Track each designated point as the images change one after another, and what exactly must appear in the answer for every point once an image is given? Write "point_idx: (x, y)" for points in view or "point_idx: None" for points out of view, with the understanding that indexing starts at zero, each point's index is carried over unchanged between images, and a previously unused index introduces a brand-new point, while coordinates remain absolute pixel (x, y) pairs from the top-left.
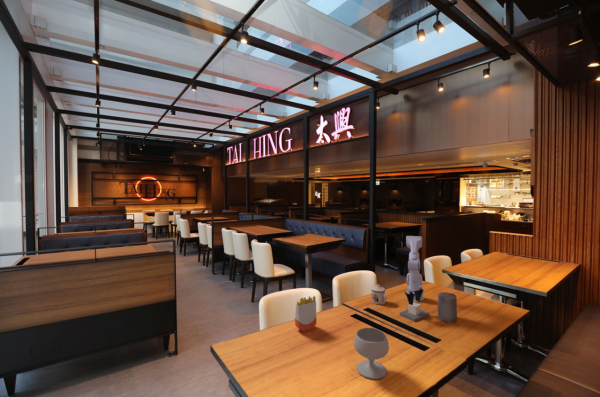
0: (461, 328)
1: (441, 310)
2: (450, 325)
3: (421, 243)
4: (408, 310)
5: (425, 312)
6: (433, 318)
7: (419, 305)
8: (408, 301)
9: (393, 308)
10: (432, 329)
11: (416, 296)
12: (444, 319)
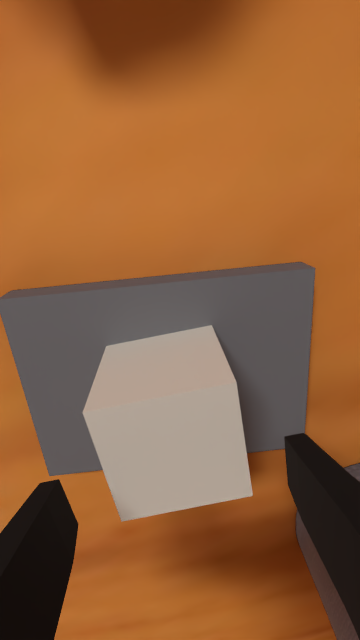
0: (284, 615)
1: (336, 615)
2: (265, 577)
3: None
4: (102, 364)
5: (283, 425)
6: (268, 475)
7: (221, 498)
8: (7, 529)
9: (73, 71)
10: (95, 574)
11: (334, 524)
12: (300, 547)
